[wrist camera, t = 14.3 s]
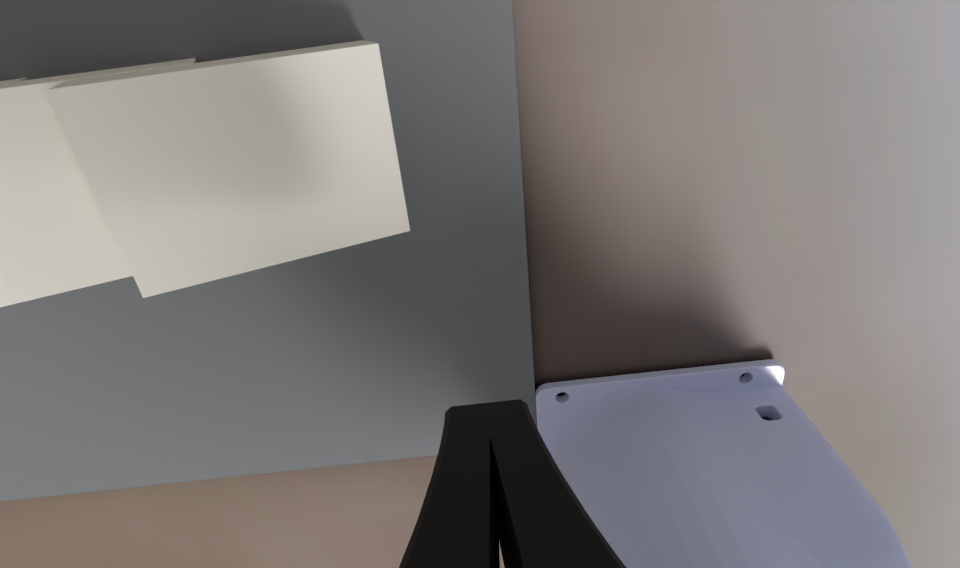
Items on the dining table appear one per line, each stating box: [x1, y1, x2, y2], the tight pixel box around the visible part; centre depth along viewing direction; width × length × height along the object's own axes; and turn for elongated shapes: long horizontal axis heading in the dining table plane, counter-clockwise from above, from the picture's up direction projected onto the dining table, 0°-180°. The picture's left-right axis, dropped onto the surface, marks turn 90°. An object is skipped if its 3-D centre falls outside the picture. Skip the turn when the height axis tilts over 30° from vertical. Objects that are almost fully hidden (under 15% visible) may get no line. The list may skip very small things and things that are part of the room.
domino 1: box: [0, 58, 197, 307], centre depth 14 cm, size 2×5×7 cm
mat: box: [0, 0, 537, 501], centre depth 18 cm, size 26×19×1 cm
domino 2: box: [48, 40, 410, 298], centre depth 14 cm, size 2×5×7 cm
